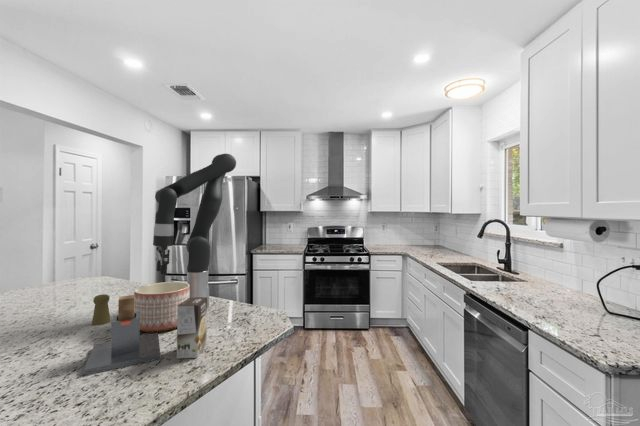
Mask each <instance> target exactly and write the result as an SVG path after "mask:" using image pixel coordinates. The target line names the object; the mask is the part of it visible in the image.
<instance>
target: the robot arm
mask: <svg viewBox="0 0 640 426" xmlns="http://www.w3.org/2000/svg"><path fill="white" fill-rule="evenodd" d="M236 166H237V160H236V158H235V156H233V155H232V154H231V153H230V154H229V153H220V154H218V155H215V156H214V157H213V158H212V160H211V163H210V164H209V165H207V166H204V167H203V168H200V169H198V170H195V171H193V172H191V173H189V174H187V175H185V176H183V177H182V178H179V179H178V180H177V181H175V182H173V183H171V184H168V185H166V186H165V187H162V188H160V189H158V190H157V191H156V192H155V195H154V199H155V200H156V202H157V203H158V208H157V211H156V212H155V217H154V218H155V219H154V228H153V239H152V241H153V242H152V245H153V246H154V247H156V250H155V261H156V269H155V270H156V272H160V274H161V275H167V273H168V265H169V264H170V253H171V252H170V251H171V250H170V249H168V248H169V247H172V246H173V245H174V233H175V227H174V224H175V223H174V222H175V212H176V208H177V203H178V199H179V198H180V197H182V196H185V195H187V194H190V193H191V192H193V191H194V190H196V189H199V187H201V186H203V185H204V184H206V185H205V188H204V192H203V194H202V197H201V200H200V203H199V206H198V210H197V213H196V218H195V222H194V225H193V228H192V230H191V233H190V235H189V237H188V239H187V242H186V245H185V247H186V251H187V252H188V261H187V262H188V263H187V267H186V270H187V271H186V283H188V284H189V285H190V296H189V298H195V297H207V309H209V308H210V286H209V268H210V267H209V266H210V263H211V262H210V261H211V245H210V242H209V240H208V237H209V232H210V230H211V228H212V227H211V226H212V225H213V224H214V222H215V220H216V218H217V217H218V214H219V211H220V209H221V207H222V206H221V205H222V202H223V182H224V180H225V176H226V175H227V174H228V173H231V172H232V171H234V170H235V169H236Z"/></svg>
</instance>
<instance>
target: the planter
mask: <svg viewBox="0 0 640 426" xmlns="http://www.w3.org/2000/svg"><path fill="white" fill-rule="evenodd" d="M133 291H134V292H133V295H135V306H134V312H140V332H141V331H142V332H143V333H144V332H145V333H161V332H167V331H170V330H174V329H176V328H177V318H178V305H179V304H181V303H182V302H184V301H185V300H187V299H188V298H189V296H190V285H189V284H188V283H187V282H183V281H164V282H154V283H149V284H144V285H141V286H139V287H137V288H135V289H134V290H133Z"/></svg>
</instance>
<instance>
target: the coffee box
mask: <svg viewBox="0 0 640 426" xmlns="http://www.w3.org/2000/svg"><path fill="white" fill-rule="evenodd" d="M207 332H208V308H207V297H195V298H188V299H187V300H185V301H184V302H182V303H181V304H179V305H178V318H177V330H176V359H196V358H199V356H200V354H201V353H202V352H203V350H204V349H206V348H205V347H206V346H207V339H208V333H207Z"/></svg>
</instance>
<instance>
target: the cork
mask: <svg viewBox="0 0 640 426" xmlns="http://www.w3.org/2000/svg"><path fill="white" fill-rule="evenodd" d="M109 301H110V295H109V294H104V293H103V294H102V293H101V294H99V295H95V296H94V298H93V303H94V309H93V316H92V321H91V325H92V326H101V325H106V324H109V323H110V322H112V321H111V315H110V310H109V309H110V308H109Z"/></svg>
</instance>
